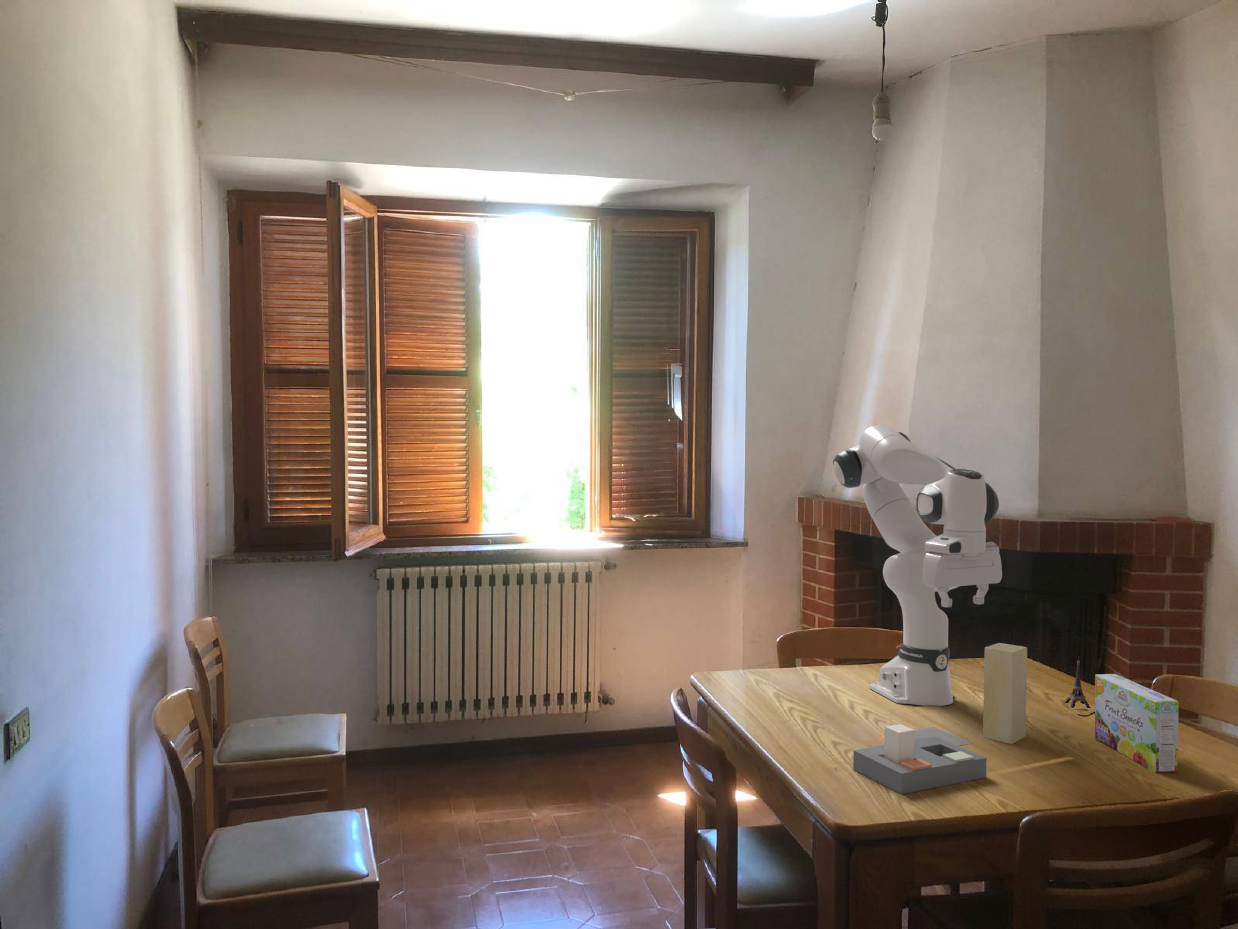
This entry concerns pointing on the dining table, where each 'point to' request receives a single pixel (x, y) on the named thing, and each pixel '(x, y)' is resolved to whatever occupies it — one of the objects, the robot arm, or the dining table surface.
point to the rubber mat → (939, 736)
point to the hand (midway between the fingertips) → (962, 605)
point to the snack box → (1137, 722)
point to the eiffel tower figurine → (1077, 690)
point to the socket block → (921, 766)
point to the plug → (898, 743)
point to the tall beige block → (1005, 692)
